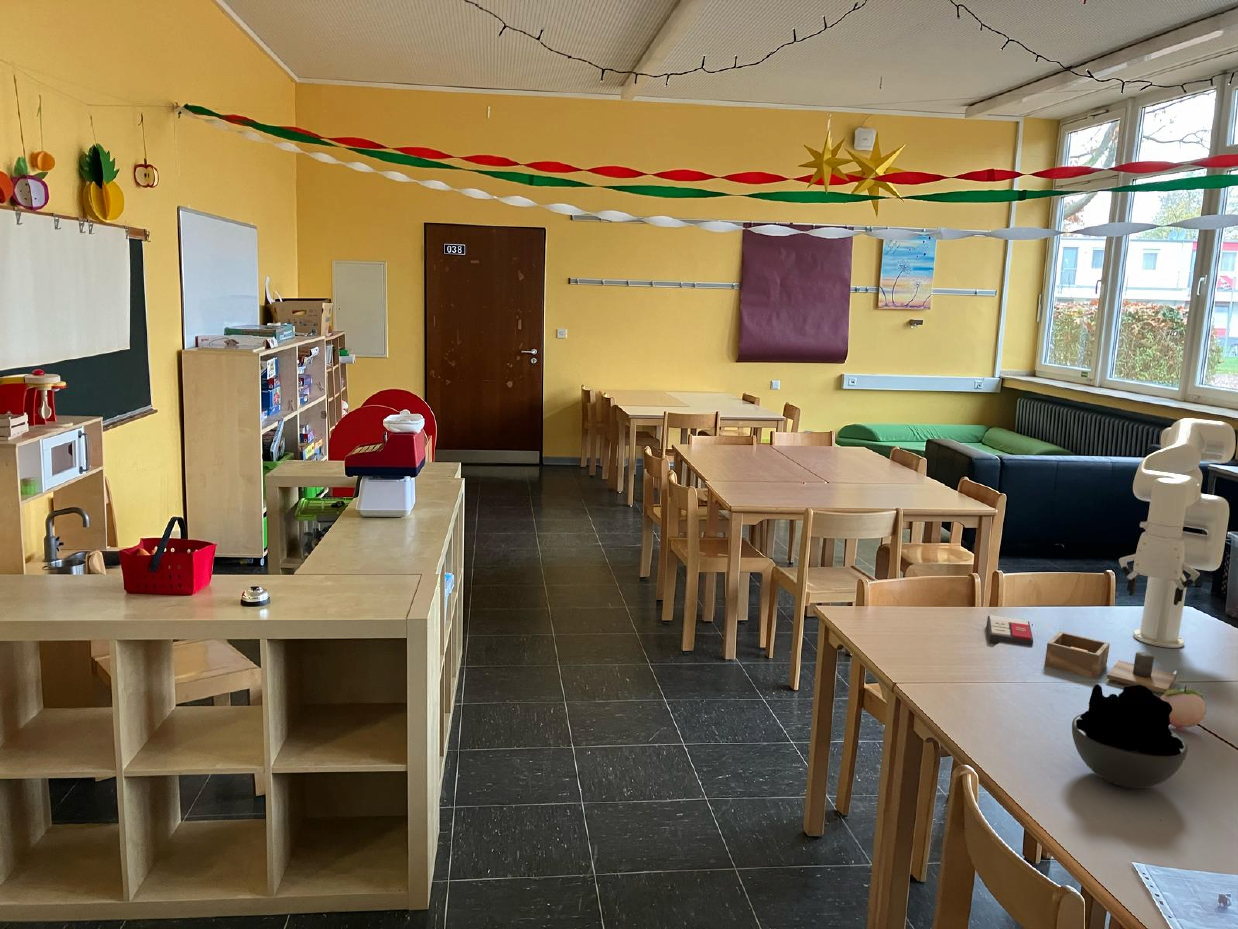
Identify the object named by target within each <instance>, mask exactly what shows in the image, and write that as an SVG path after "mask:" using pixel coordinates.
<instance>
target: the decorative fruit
mask: <svg viewBox="0 0 1238 929" xmlns="http://www.w3.org/2000/svg"><path fill="white" fill-rule="evenodd" d="M1202 698H1204V695H1203V694H1202V693H1200V692H1199V691H1197V690H1195V689H1187V685H1185V686H1184V689H1178V690H1177V689H1171V690H1168V691H1167V692H1165V693H1164V694H1163V695H1162V696H1161V699H1162V700H1163V701H1166V702H1169V704H1170V705H1171V706H1172V709H1173V710H1172V712H1171V713H1170V715H1169V717H1170V723H1171V724H1170V725H1171V727H1173V728H1175V729H1178V730H1180V729H1183V728H1190V727H1191V728H1192V727H1194V726H1197V725H1199V724H1200V723H1201V722H1202V720H1204V718H1205V716H1206V712H1207V706H1206V704H1205V702H1204V700H1203V699H1202Z"/></svg>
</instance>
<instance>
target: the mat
mask: <svg viewBox="0 0 1238 929" xmlns="http://www.w3.org/2000/svg"><path fill="white" fill-rule="evenodd" d="M1109 672H1110V670H1109ZM1109 672H1108V673H1109ZM1100 683H1101V684H1104V685H1105V684H1106V685H1110V686H1114V687H1118V688H1121V689H1124V687H1131V686H1129V685H1125V684H1121V683H1118V682H1116V681H1115V680H1111V679H1107V674H1106V675H1105V676H1104V678H1103V679H1102V680H1101V681H1100ZM1180 686H1181V682H1180V681H1178V680H1174V682H1173V683H1172V685H1171V687H1170V688H1169V690H1171V689H1177V690H1179V688H1180ZM1151 692H1152V693H1153V694H1154V695H1155V696H1157V697H1159V698H1161V696H1162V695H1163V694H1164V693H1162V692H1158V693H1157V692H1153V691H1151Z"/></svg>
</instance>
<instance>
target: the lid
mask: <svg viewBox="0 0 1238 929" xmlns="http://www.w3.org/2000/svg"><path fill="white" fill-rule="evenodd" d="M1134 655H1135V656H1134V663H1131V662H1127V661H1123V660H1117V662H1116V663H1115V664H1114V665H1113V666H1112V667H1111V668H1110V670H1109V671H1110V672H1108V673H1106V675H1107V679H1111V680H1115V681H1116V682H1118V683H1121V684H1125V685H1129V686H1135V685H1142V686H1146V687H1147V688H1148V689H1149V690H1150V691H1153V692H1157V693H1158V692H1162V693H1165V692H1167V691H1168V690H1169V688H1170V687H1171V685H1172V683H1173V682H1174V681H1176V677H1177V674H1176V673H1172V672H1168V671H1163V670H1160V669H1156V668H1153V667H1154V660H1155V656H1154V655H1153V654H1151V653H1149V652H1143V651H1136V652H1135V654H1134Z"/></svg>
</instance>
